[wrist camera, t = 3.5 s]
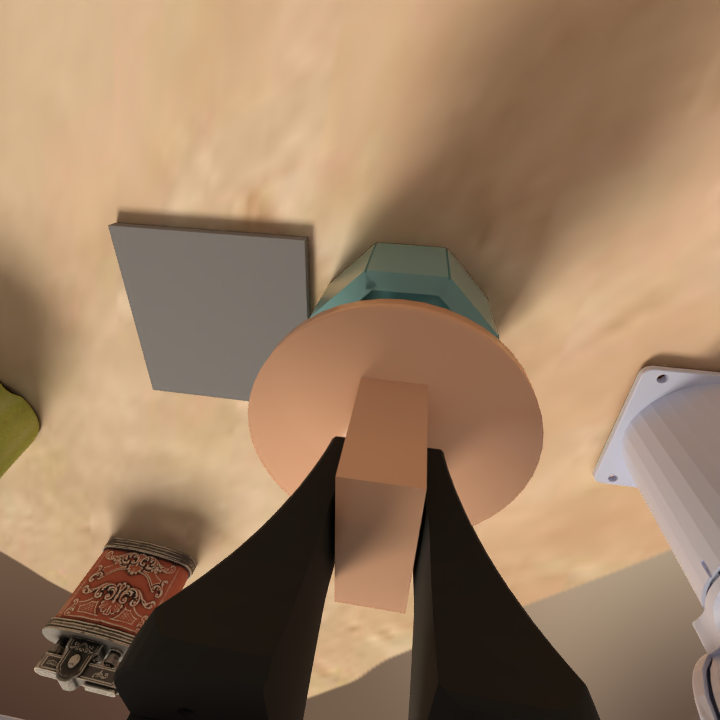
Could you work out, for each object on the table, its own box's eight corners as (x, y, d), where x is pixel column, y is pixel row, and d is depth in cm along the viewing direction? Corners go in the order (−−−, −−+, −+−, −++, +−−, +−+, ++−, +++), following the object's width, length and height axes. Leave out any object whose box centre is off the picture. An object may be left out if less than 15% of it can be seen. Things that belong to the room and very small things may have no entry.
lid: (577, 315, 11) (657, 428, 7) (502, 536, 16) (525, 676, 12) (242, 284, 12) (150, 370, 8) (267, 502, 17) (218, 621, 13)
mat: (307, 237, 20) (304, 240, 20) (312, 402, 25) (310, 408, 25) (115, 222, 21) (108, 225, 21) (158, 384, 26) (153, 389, 26)
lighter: (111, 555, 38) (20, 683, 29) (105, 532, 36) (6, 662, 28) (197, 575, 38) (129, 711, 29) (195, 553, 36) (122, 691, 27)
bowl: (498, 251, 19) (512, 282, 16) (468, 392, 23) (475, 440, 20) (328, 238, 20) (307, 265, 17) (328, 377, 24) (312, 420, 21)
